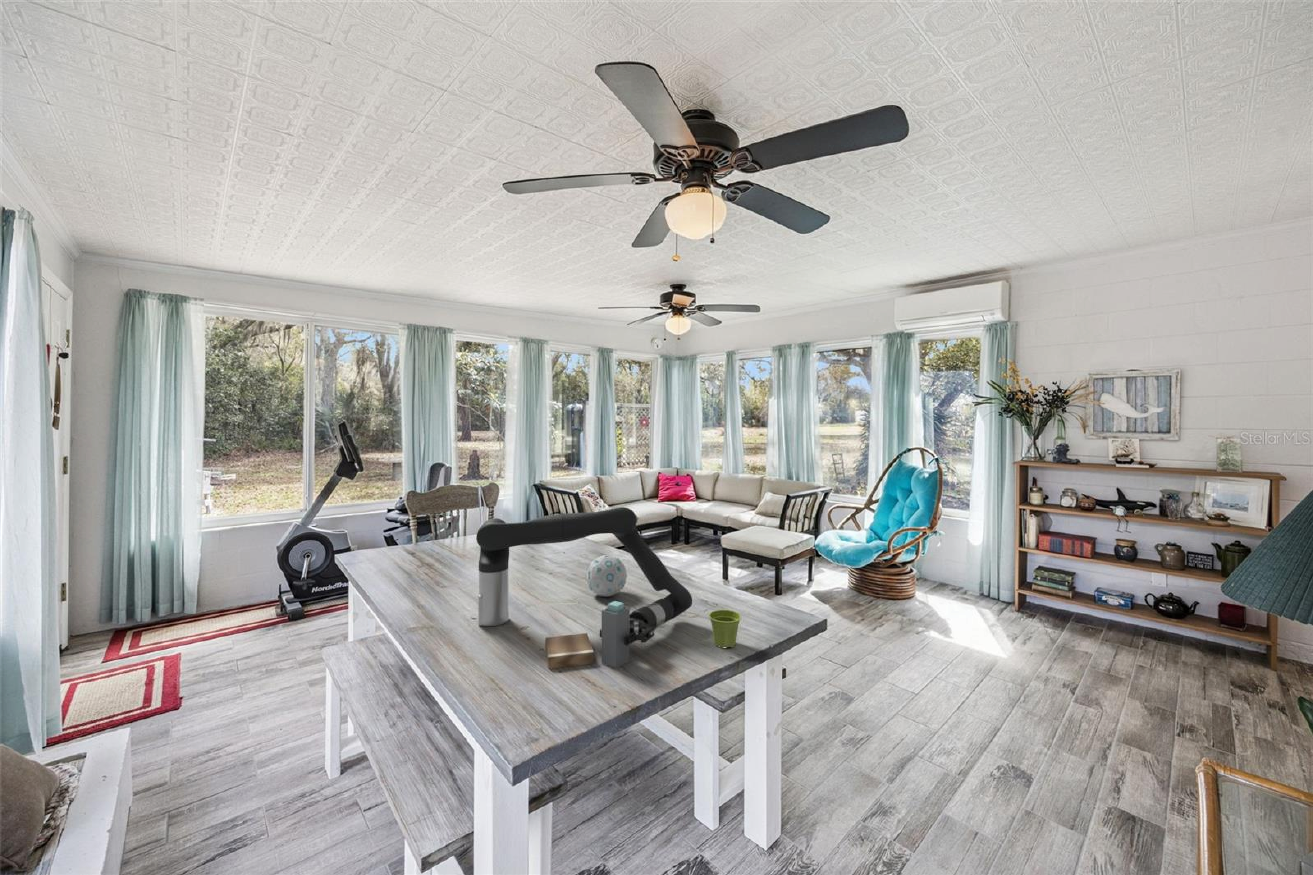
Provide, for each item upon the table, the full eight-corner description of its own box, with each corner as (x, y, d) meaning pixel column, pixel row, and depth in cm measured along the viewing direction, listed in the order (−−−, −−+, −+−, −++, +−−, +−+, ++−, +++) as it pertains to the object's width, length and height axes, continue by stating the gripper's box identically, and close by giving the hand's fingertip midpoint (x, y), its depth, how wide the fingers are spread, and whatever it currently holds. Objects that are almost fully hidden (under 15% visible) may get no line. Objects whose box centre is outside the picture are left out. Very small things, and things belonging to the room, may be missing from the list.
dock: (548, 668, 135) (548, 657, 135) (545, 647, 148) (545, 636, 148) (593, 663, 138) (593, 651, 138) (586, 643, 151) (586, 632, 151)
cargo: (615, 611, 141) (615, 600, 141) (623, 613, 140) (623, 603, 140) (608, 615, 139) (608, 604, 139) (616, 617, 137) (616, 606, 137)
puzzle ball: (579, 599, 188) (579, 558, 188) (598, 586, 202) (598, 549, 202) (616, 604, 183) (616, 563, 182) (633, 591, 197) (633, 553, 196)
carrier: (615, 655, 144) (615, 603, 143) (629, 659, 141) (629, 607, 140) (601, 663, 139) (601, 610, 138) (615, 668, 136) (616, 614, 135)
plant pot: (733, 654, 144) (733, 624, 144) (703, 646, 149) (703, 617, 149) (745, 642, 152) (746, 613, 152) (717, 635, 157) (717, 607, 157)
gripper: (628, 601, 156) (592, 618, 142) (667, 611, 148) (633, 630, 134) (628, 625, 156) (592, 645, 142) (667, 637, 148) (633, 658, 134)
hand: (612, 637), depth 138 cm, fingers open, 8 cm apart
